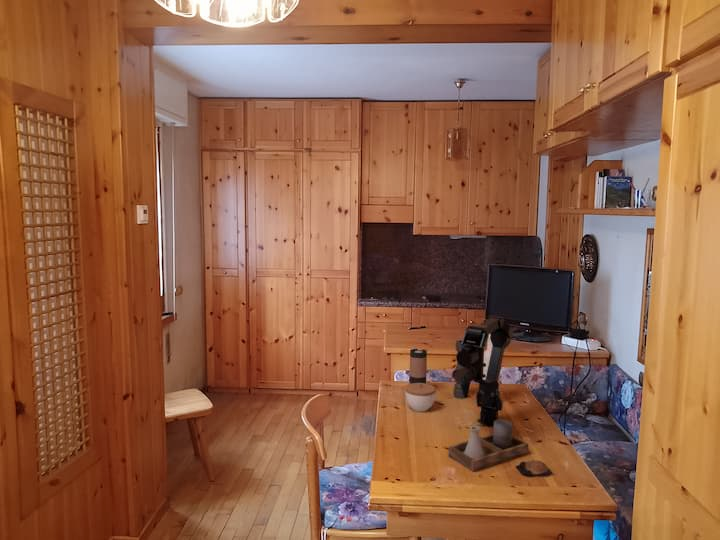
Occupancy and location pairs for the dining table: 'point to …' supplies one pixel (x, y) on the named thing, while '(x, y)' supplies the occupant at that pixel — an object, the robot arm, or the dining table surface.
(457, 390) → the candle holder
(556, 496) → the dining table surface
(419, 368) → the travel mug
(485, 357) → the bottle
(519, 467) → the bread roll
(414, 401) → the lidded bowl
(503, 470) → the dining table surface
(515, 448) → the cruet stand
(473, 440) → the flask
